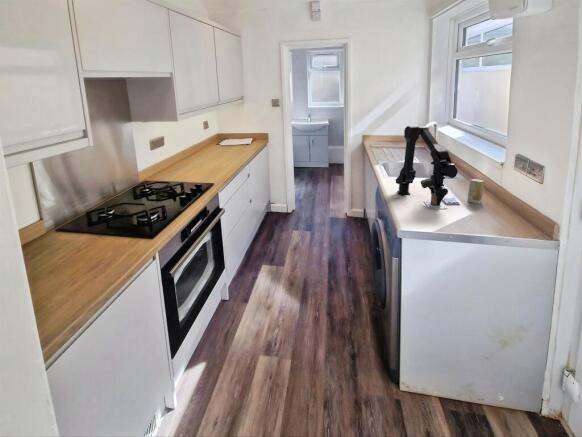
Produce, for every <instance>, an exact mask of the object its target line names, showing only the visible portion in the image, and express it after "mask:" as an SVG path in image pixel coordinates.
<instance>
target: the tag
mask: <svg viewBox="0 0 582 437" xmlns="http://www.w3.org/2000/svg"><path fill="white" fill-rule="evenodd" d="M423 203H424V205H426V207H427V208H428V209H429V210H448V207H446V205H444V204H443V202H441V203H440V206H432V205H431V204H430V203H431V201H423Z"/></svg>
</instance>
